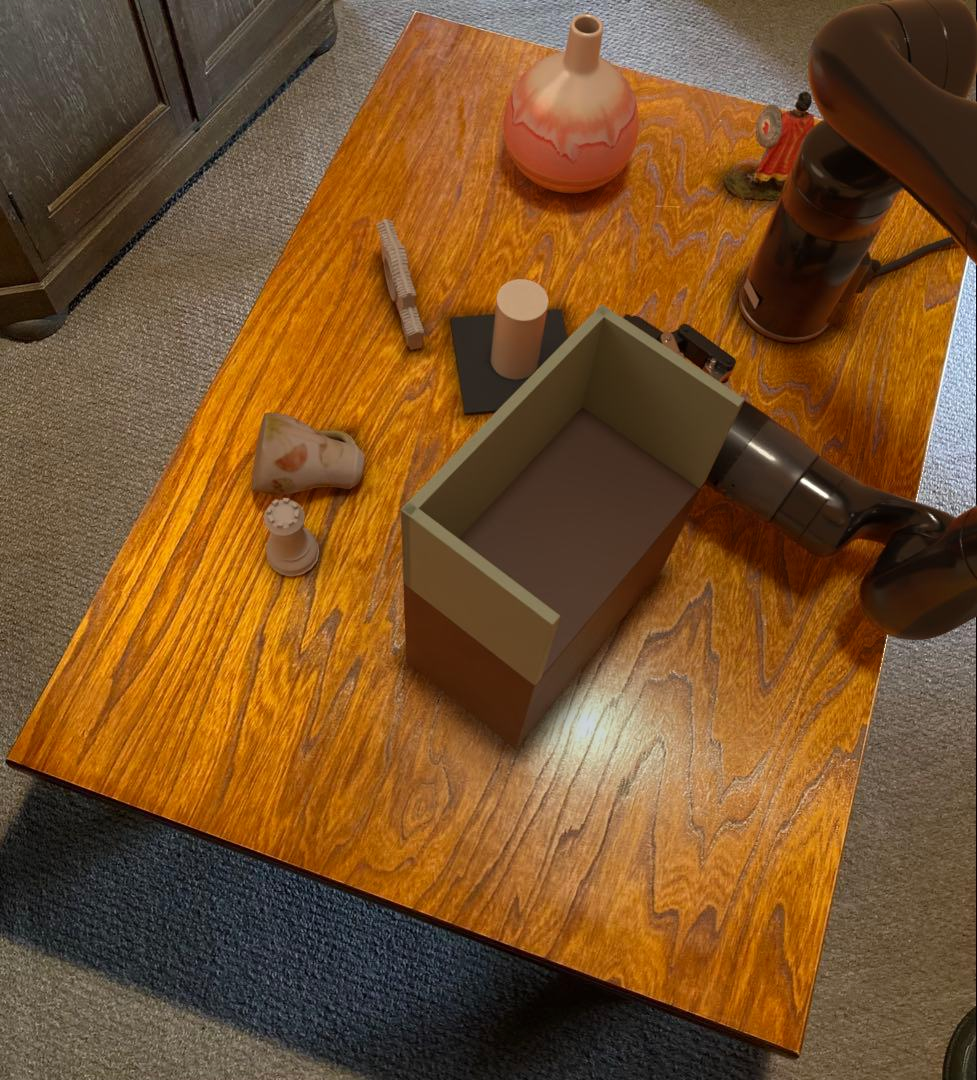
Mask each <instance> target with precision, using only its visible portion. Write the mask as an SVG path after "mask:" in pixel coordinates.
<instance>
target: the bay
mask: <svg viewBox="0 0 977 1080" xmlns="http://www.w3.org/2000/svg"><path fill="white" fill-rule="evenodd" d="M745 399H746V398H744V397H743V396H742V395H740V394H739V393H737V392H736V391H734V390H732V389H731V388H729V387H728V386H727V385H725V384H724V383H720V382H719V381H717V380H716V379H714V378H713V377H711V376H710V375H708V374H707V373H705V372H704V371H703V370H702V369H700V368H699V367H698V366H696V365H695V364H694V363H692V362H691V361H690V360H688V359H687V358H685V359H684V358H683V357H681V356H680V355H678V354H677V353H675V352H674V351H672V350H671V349H669V348H668V347H666V346H665V345H663V344H662V343H660V342H658V341H657V340H655V339H654V338H652V337H651V336H649V335H648V334H646V333H645V332H643V331H642V330H640V329H639V328H637V327H636V326H634V325H633V324H631V323H630V322H628V321H627V320H625V319H624V318H623V316H620V315H619V314H618V313H617V312H615V311H613V310H612V309H610V308H608V307H607V306H606V305H604V304H603V303H601V304H600V305H599V306H597V308H596V309H595V310H594V311H593V312H592V313H591V314H590V315H589V316H588V317H587V318H586V319H585V320H584V321H583V322H582V323H581V325H579V326H578V327H577V329H576V330H575V331H573V333H572V334H571V335H569V337H568V339H567V340H566V341H565V342H564V343H563V344H562V345H561V346H560V347H559V348H558V349H557V350H556V351H555V352H554V353H553V354H552V355H551V356H550V357H549V358H548V359H547V360H546V361H545V362H544V363H543V364H542V365H541V366H540V367H539V368H538V369H537V370H536V371H535V372H534V373H533V375H532V376H531V377H530V378H529V379H528V380H527V381H526V382H525V383H524V384H523V385H522V386H521V387H520V388H519V389H518V390H517V391H516V392H515V393H514V394H513V395H512V396H511V397H510V398H509V399H508V400H507V401H506V402H505V403H504V404H503V405H502V406H501V407H500V408H499V409H498V410H497V411H496V412H495V413H492V415H491V416H490V417H489V418H488V419H487V420H486V421H485V422H484V423H483V424H482V426H480V427H479V428H478V430H476V432H474V433H473V434H472V436H471V437H470V438H468V440H466V441H465V443H464V444H463V445H462V446H460V448H459V449H458V450H457V451H456V452H455V453H454V454H453V455H451V457H450V458H449V459H448V460H447V461H446V462H445V463H444V464H443V465H442V466H441V467H440V468H439V469H438V470H437V471H436V472H435V474H434V475H432V476H431V477H430V478H429V479H428V481H426V482H425V484H423V486H422V487H421V488H420V489H419V490H418V491H416V493H414V495H412V497H411V498H410V499H409V500H408V501H406V503H405V504H404V505H403V506H402V507H401V508H400V529H401V530H400V531H401V532H400V533H401V558H402V560H401V561H402V583H403V609H404V612H403V613H404V615H403V616H404V638H405V639H404V641H405V662H406V663H407V664H408V665H410V666H411V667H412V668H413V669H415V670H416V671H417V672H419V674H421V675H422V676H423V677H425V678H426V679H427V680H428V681H429V682H430V683H432V684H433V685H434V686H436V687H437V688H438V689H439V690H440V691H442V692H443V693H444V694H446V695H447V696H448V697H450V698H451V699H452V700H453V701H454V702H455V703H457V704H458V705H459V706H461V707H462V708H463V709H464V710H466V711H467V712H468V713H469V714H471V715H472V716H473V717H474V718H476V719H477V720H478V721H479V722H481V723H482V724H483V725H484V726H486V727H487V728H488V729H489V730H491V732H493V733H494V734H496V735H497V736H498V737H499V738H500V739H501V740H503V741H504V742H505V743H506V744H508V745H509V746H510V747H512V748H513V749H514V750H517V749H518V748H519V746H520V745H521V744H522V743H523V742H524V740H526V739H527V737H528V736H529V734H530V733H531V732H532V731H533V730H534V728H535V727H536V726H537V724H538V723H539V722H540V721H541V720H542V719H543V717H544V716H545V714H546V713H547V712H548V711H549V710H550V709H551V707H552V706H553V705H554V704H555V702H556V701H557V700H559V697H560V696H561V695H562V694H563V693H564V692H565V690H566V689H567V688H568V687H569V685H570V684H571V683H572V682H573V680H574V679H575V678H576V677H577V676H578V674H579V673H580V672H581V671H582V670H583V668H584V667H585V666H586V665H587V663H588V662H589V661H590V660H591V658H592V657H593V656H594V655H595V653H597V651H598V650H599V649H600V647H601V646H602V645H603V644H604V642H605V641H606V640H607V639H608V637H610V635H611V634H612V633H613V631H614V630H615V629H616V628H617V627H618V626H619V624H620V623H621V622H622V621H623V619H624V618H625V617H626V616H627V614H628V613H629V612H630V611H631V610H632V609H633V607H634V606H635V605H636V603H637V602H638V601H639V600H640V598H641V597H642V596H643V595H644V594H645V592H646V591H647V590H648V589H649V587H651V585H652V584H653V583H654V581H655V580H656V579H657V578H658V577H659V575H660V574H661V573H662V571H663V569H664V567H665V565H666V564H667V561H668V559H669V558H670V555H671V553H672V551H673V548H674V547H675V544H676V542H677V541H678V538H679V536H680V534H681V532H682V530H683V527H684V526H685V524H686V522H687V519H688V518H689V515H690V514H691V512H692V510H693V507H694V505H695V503H696V501H697V499H698V497H699V495H700V492H701V491H702V488H703V487H704V485H705V484H704V482H705V481H706V479H707V476H708V474H709V472H710V470H711V468H712V466H713V464H714V462H715V460H716V458H717V456H718V454H719V452H720V450H721V448H722V445H723V443H724V441H725V439H726V437H727V435H728V433H729V431H730V429H731V427H732V425H733V423H734V421H735V419H736V417H737V414H738V412H739V410H740V408H741V406H742V404H743V402H744V400H745ZM745 401H746V400H745Z"/></svg>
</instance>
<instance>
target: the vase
mask: <svg viewBox="0 0 977 1080" xmlns="http://www.w3.org/2000/svg"><path fill="white" fill-rule="evenodd" d="M568 29H569V30H568V34H567V41H566V47H565V50H563V51H562V50H561V51H558V52H554V53H551V54H549V55H547V56H545V57H543V58H541V59H539V60H538V61H536V62H534V63H533V64H532V65H531V66H529V67H528V68H527V69H526V70H525V71H524V72H523V73H522V74H521V76H520V77H519V78H518V80H517V82H516V83H515V84H514V86H513V88H512V90H511V92H510V94H509V96H508V99H507V101H506V104H505V107H504V114H503V121H502V123H503V127H502V129H503V139H504V143H505V147H506V150H507V152H508V155H509V157H510V158H511V160H512V163H514V165H515V166H516V168H517V169H518V170H519V171H520V173H521V174H522V175H524V177H525V178H527V179H528V180H530V181H531V182H533V184H535V185H537V186H538V187H540V188H544V189H546V190H549V191H552V192H557V193H562V194H579V193H580V194H581V193H586V192H589V191H593V190H595V189H597V188H601V187H602V186H604V185H606V184H608V183H609V182H610V181H611V180H614V178H615V177H617V176H618V175H620V173H621V172H622V170H623V169H624V168H625V167H626V165H627V164H628V163H629V161H630V159H631V157H632V156H633V153H634V151H635V148H636V145H637V142H638V137H639V127H640V116H639V108H638V102H637V99H636V96H635V93H634V91H633V89H632V86H631V85H630V82H628V80H627V78H626V77H625V75H623V73H622V72H621V71H620V70H619V68H617V66H615V65H614V64H613V63H612V62H610V61H609V60H607V59H606V58H604V57H603V56H600V54H601V48H602V42H603V41H602V40H603V35H604V23H603V22H602V20H601V19H600V18H599V17H598V16H596V15H593V14H590V13H582V14H578V15H576V16H574V17H573V18H572V19H571V21H570V24H569V28H568Z"/></svg>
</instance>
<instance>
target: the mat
mask: <svg viewBox="0 0 977 1080" xmlns="http://www.w3.org/2000/svg"><path fill="white" fill-rule="evenodd" d="M494 318H495V313H490V314H478V315H466V316H456V317H455V316H451V317H450V318H449V323H450V329H451V335H452V336H451V337H452V342H453V348H454V349H453V350H454V355H455V361H456V362H455V363H456V368H457V373H458V374H457V375H458V382H459V387H460V394H461V400H462V401H461V402H462V406H463V413H464V416H474V415H482V414H494V413H495V412H496V411H497V410H498V409H499V408H500V407H501V406H502V405H503V404H504V403H505V402H506V401H507V400H508V399H509V398H510V397H511V396H512V395H513V394H514V393H515V392H516V391H517V390H518V389H519V388H520V387H521V386H522V385H523V384H524V383H525V382H526V381H527V380H528V379H529V378H530V377H531V376H532V375H533V374H532V375H530V376H528V377H526V378H524V379H519V380H513V379H508V378H505V377H503V376H501V375H500V374H498V373H497V372H496V371H495V370H494V368H493V366H492V364H491V348H492V338H493V328H494ZM568 338H569V337H568V334H567V328H566V323H565V318H564V314H563V309H562V308H555V309H548V310H547V316H546V322H545V328H544V334H543V340H542V346H541V352H540V358H539V364H538V367H537V369H538V368H539V367H540V366H541V365H542V364H543V363H544V362H545V361H546V360H547V359H548V358H549V357H550V356H551V355H552V354H553V353H554V352H555V351H556V350H557V349H558V348H559V347H560V346H561V345H562V344H563V343H564V342H565V341H566V340H567V339H568ZM537 369H536V370H537ZM536 370H535V371H536Z"/></svg>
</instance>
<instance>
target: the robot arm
mask: <svg viewBox="0 0 977 1080" xmlns="http://www.w3.org/2000/svg"><path fill="white" fill-rule="evenodd" d="M810 46H811V47H810V49H809V52H808V59H807V77H808V83H809V88H810V91H811V96H812V98H813V101H814V104H815V106H816V108H817V110H818V112H819V114H820V115H821V117H822V120H821V121H818V122H817V123H816V124H814V127H813V128H812V129H811V130H810V131H809V132H808V133H807V134H806V136H805V137H804V139H803V141H802V143H801V145H800V147H799V149H798V152H797V154H796V157H795V159H794V161H793V164H792V166H791V169H790V171H789V174H788V176H787V178H786V181H785V183H784V186H783V188H782V191H781V193H780V196H779V198H778V199H777V200H776V203H775V205H774V208H773V210H772V213H771V215H770V218H769V220H768V222H767V225H766V228H765V230H764V232H763V235H762V236H761V240H760V241H759V244H758V247H757V249H756V252H755V253H754V256H753V259H752V261H751V264H750V266H749V269H748V271H747V274H746V276H745V278H744V279H743V281H742V283H741V285H740V288H739V291H738V306H739V310H740V313H741V314H742V316H743V318H744V320H745V321H746V322H747V323H748V325H749V326H751V327H752V329H754V330H755V331H757V332H758V333H760V334H761V335H762V336H764V337H767V338H769V339H771V340H774V341H778V342H783V343H790V344H791V343H793V344H794V343H797V344H798V343H803V342H807V341H811V340H813V339H815V338H817V337H819V336H820V335H821V334H823V332H825V330H826V329H827V328H830V327H836V326H837V325H838V324H839V322H840V320H841V318H842V317H843V315H844V313H845V311H846V309H847V307H848V305H849V304H850V302H851V300H852V298H853V296H854V295H855V294H856V295H857V294H863V293H864V291H865V289H866V288H867V286H868V284H869V282H870V280H871V279H872V278H876V277H879V276H881V275H884V274H886V273H889V272H891V271H893V270H896V269H897V268H899V267H902V266H905V265H906V264H909V263H910V262H912V261H914V260H916V259H917V258H919V257H921V256H923V255H926V254H928V253H931V252H934V251H937V250H939V249H942V248H945V247H947V246H950V245H954V244H958V246H959V247H960V248H961V250H963V252H964V253H965V254H966V255H967V257H968V258H969V259H970V260H971V261H972V262H973V263H974V264H975V265H976V266H977V101H975V100H973V99H969V95H970V94H971V90H972V88H973V85H974V82H975V79H976V76H977V19H976V17H975V15H974V13H973V11H972V10H971V8H970V7H969V6H968V5H967V4H966V3H965V2H964V1H963V0H886V1H879V2H872V3H867V4H862V5H857V6H854V7H851V8H848V9H846V10H844V11H841V12H839V13H837V14H835V15H834V16H832V17H831V18H830V19H829V20H827V21H826V22H825V23H824V24H823V25H822V27H820V29H819V30H818V32H817V33H816V35H815V37H814V39H813V41H812V42H811V45H810ZM902 191H905V192H907V194H908V195H909V196H911V198H912V199H913V200H915V201H916V202H917V203H918V204H919V206H920V207H921V208H923V210H925V212H927V214H928V215H930V216H931V218H933V219H934V220H935V221H936V222H937V223H938V224H939V225H940V226H941V227H942V228H943V230H944V231H946V232H947V233H948V234H949V235H950V236H949V237H945V238H943V239H939V240H937V241H934V242H931V243H928V244H926V245H925V244H924V246H921V247H919V248H917V249H915V250H913V251H912V252H909V253H908V254H906V255H904V256H901V257H900V258H896V259H895V260H893V261H891V262H888V263H886V264H884V265H882V263H881V261H879V260H878V259H876V258H875V259H874V258H872V256H871V254H870V251H869V250H870V247H871V246H872V244H873V243H874V240H875V238H876V237H877V235H878V233H879V231H880V229H881V227H882V225H883V224H884V222H885V220H886V218H887V216H888V214H889V212H890V210H891V208H892V207H893V205H894V204H895V201H896V200H897V198H898V196H899V195H900V193H901V192H902ZM622 318H624V319H625V320H627V321H628V322H630V323H631V324H633V325H634V326H636V327H637V328H639V329H640V330H642V331H643V332H645V333H646V334H648V335H649V336H651V337H652V338H654V339H655V340H657V341H658V342H660V343H662V344H663V345H665V346H666V347H668V348H669V349H671V350H672V351H674V352H675V353H677V354H678V355H680V356H681V357H683V358H684V359H686V360H687V361H689V362H690V363H692V364H693V365H695V366H696V367H698V368H699V369H701V370H702V371H704V372H705V373H707V374H708V375H710V376H711V377H713V378H714V379H716V380H717V381H719V382H720V383H722V384H726V383H728V382H729V380H730V378H731V376H732V373H733V371H734V369H735V366H736V364H737V360H736V358H735V357H734V356H732V355H731V354H729V353H728V352H727V351H725V350H724V349H723V348H721V347H720V346H719V345H717V344H716V343H715V342H713V341H712V340H710V339H709V338H707V337H706V336H705V335H703V333H701V332H699V330H696V329H695V328H694V327H693V326H691V325H689V324H688V323H682V324H680V325H679V326H678V329H675V330H674V331H671V332H668V331H667V332H663V331H662V330H660V329H658V328H657V327H656V326H655V325H652V324H651V323H649V322H648V321H647V320H645V319H644V318H643V317H641V316H637V315H631V314H628V313H626V314H625V315H624V316H622ZM704 485H705V486H707V487H708V488H710V489H711V490H713V491H714V492H715V493H717V494H719V495H720V496H722V498H724V499H725V500H726V501H728V502H730V503H732V504H733V505H734V506H735V507H738V509H740V510H742V511H744V513H747V514H749V515H751V516H753V517H754V518H757V519H759V520H760V521H762V522H764V523H766V524H768V525H769V526H770V527H771V528H773V529H774V530H776V531H777V532H778V533H780V534H782V535H783V536H784V537H786V538H787V539H789V540H790V541H792V542H793V543H795V544H796V545H797V546H799V547H800V548H802V549H803V550H804V551H806V552H808V553H809V554H811V555H812V556H815V557H817V558H819V559H830V558H833V557H835V556H836V555H838V554H839V553H841V552H842V551H843V550H844V549H845V548H847V547H848V546H849V545H850V544H851V543H853V542H854V541H856V540H864V541H870V542H874V543H877V544H881V545H883V546H884V547H883V548H882V550H881V552H879V554H878V555H877V557H876V558H875V560H874V561H873V562H872V564H871V565H870V566H869V568H868V569H867V570H866V572H865V573H864V575H863V577H862V579H861V581H860V585H859V588H858V602H859V606H860V608H861V611H862V613H863V615H864V616H865V618H866V620H867V621H869V623H870V624H871V625H872V626H873V627H875V629H877V630H879V631H880V632H881V633H883V634H886V635H888V636H890V637H893V638H896V639H901V640H906V641H907V640H908V641H923V640H924V641H925V640H929V639H935V638H938V637H940V636H943V635H946V634H948V633H949V632H952V631H954V630H956V629H957V628H959V627H961V626H963V625H965V624H966V623H968V622H970V621H972V620H974V619H975V618H977V505H975V506H973V507H971V508H969V509H967V510H966V511H964V512H962V513H961V514H959V515H957V517H956V516H954V515H952V514H950V513H948V512H946V511H944V510H941V509H938V508H936V507H933V506H929V505H927V504H924V503H921V502H918V501H916V500H912V499H909V498H907V497H904V496H901V495H898V494H896V493H893V492H891V491H887V490H884V489H882V488H879V487H876V486H874V485H870V484H868V483H865V482H863V481H861V480H859V479H858V478H856V477H855V476H853V475H852V474H850V473H848V472H847V471H846V470H844V469H843V468H842V467H840V466H838V465H837V464H836V463H834V462H833V461H830V460H829V459H828V458H826V457H825V456H823V455H820V453H819V452H817V451H816V450H815V449H813V447H811V446H810V445H809V444H808V443H807V442H806V441H805V440H804V439H802V438H801V437H800V436H799V435H797V434H796V433H794V432H793V431H792V430H790V429H789V428H787V427H786V426H784V425H783V424H782V423H779V422H778V421H777V420H775V419H774V418H772V417H771V416H769V415H768V414H766V413H764V411H761V410H760V409H759V408H757V407H755V406H754V405H753V404H751V403H750V402H748V401H747V400H744V402H743V404H742V406H741V408H740V410H739V412H738V414H737V417H736V419H735V421H734V423H733V425H732V427H731V429H730V431H729V433H728V435H727V437H726V439H725V441H724V443H723V445H722V448H721V450H720V452H719V454H718V456H717V458H716V460H715V462H714V464H713V466H712V468H711V470H710V472H709V474H708V476H707V479H706V481H705V482H704Z"/></svg>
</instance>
